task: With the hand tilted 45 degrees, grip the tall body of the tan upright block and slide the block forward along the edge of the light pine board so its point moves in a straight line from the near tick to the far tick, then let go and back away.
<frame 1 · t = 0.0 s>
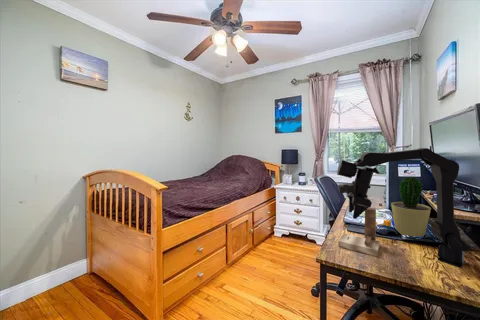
hand: (352, 215, 91), 15 cm above the table, tool pointing down, fingers open, 9 cm apart
potted cactus: (409, 234, 105), on the table
pipe clamp: (379, 229, 113), on the table
pine board: (358, 246, 94), on the table
tan upright block: (368, 228, 93), point 8 cm above the table, slide at 0.0 cm
eagle figurine: (446, 243, 96), on the table
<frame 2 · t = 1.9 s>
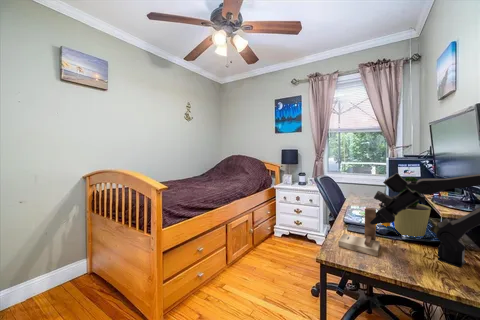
hand: (372, 220, 96), 11 cm above the table, tool tilted 45°, fingers open, 9 cm apart
eagle figurine: (443, 242, 96), on the table
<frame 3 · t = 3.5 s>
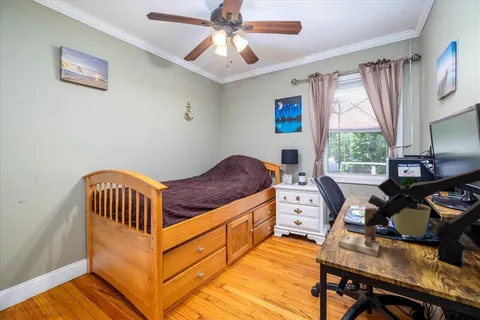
hand: (366, 224, 98), 9 cm above the table, tool tilted 45°, fingers closed on tan upright block, 4 cm apart
tan upright block: (369, 228, 93), point 8 cm above the table, slide at 0.0 cm, touching gripper
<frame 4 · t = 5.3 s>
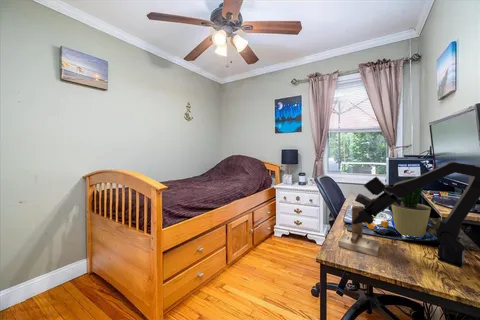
hand: (353, 221, 101), 9 cm above the table, tool tilted 45°, fingers closed on tan upright block, 4 cm apart
tan upright block: (355, 225, 97), point 8 cm above the table, slide at 5.4 cm, touching gripper
eagle figurine: (437, 242, 97), on the table
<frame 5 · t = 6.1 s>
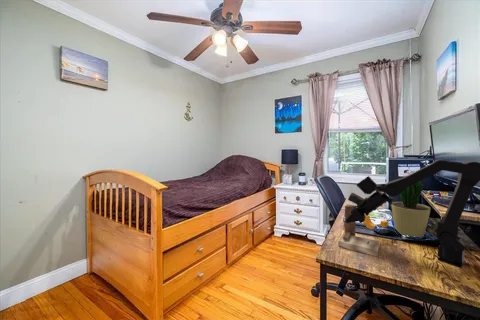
hand: (347, 220, 103), 9 cm above the table, tool tilted 45°, fingers closed on tan upright block, 4 cm apart
tan upright block: (348, 224, 99), point 8 cm above the table, slide at 8.4 cm, touching gripper
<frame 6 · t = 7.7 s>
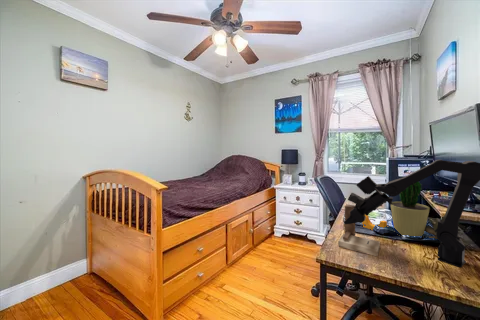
hand: (346, 220, 103), 9 cm above the table, tool tilted 45°, fingers open, 9 cm apart
tan upright block: (348, 224, 99), point 8 cm above the table, slide at 8.5 cm
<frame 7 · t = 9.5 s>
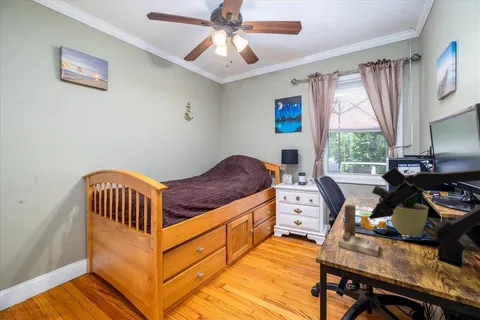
hand: (371, 215, 96), 13 cm above the table, tool tilted 45°, fingers open, 9 cm apart
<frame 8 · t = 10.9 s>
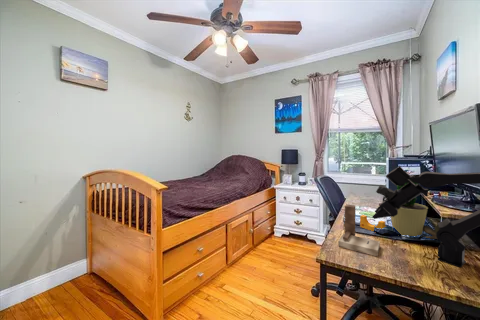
hand: (374, 214, 96), 14 cm above the table, tool tilted 45°, fingers open, 9 cm apart
at the end: tan upright block slide at 8.5 cm; the gripper is holding nothing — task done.
